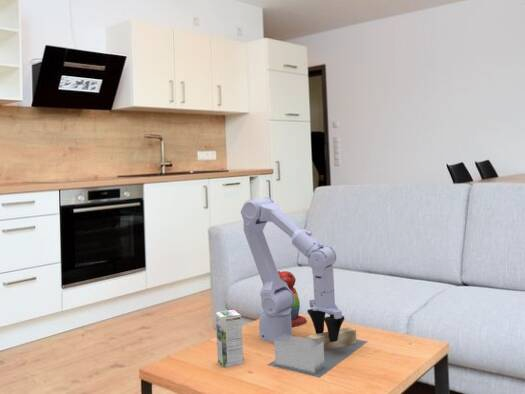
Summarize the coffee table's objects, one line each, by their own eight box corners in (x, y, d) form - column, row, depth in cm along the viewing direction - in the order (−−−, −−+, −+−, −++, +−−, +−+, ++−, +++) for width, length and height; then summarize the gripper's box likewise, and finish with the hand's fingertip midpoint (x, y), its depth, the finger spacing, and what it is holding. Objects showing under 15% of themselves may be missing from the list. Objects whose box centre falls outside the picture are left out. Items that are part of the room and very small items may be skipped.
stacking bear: (309, 322, 170) (306, 270, 169) (290, 330, 163) (287, 276, 162) (285, 316, 178) (282, 266, 177) (265, 324, 170) (262, 272, 169)
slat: (301, 356, 138) (300, 341, 138) (296, 352, 141) (295, 338, 141) (356, 343, 145) (355, 329, 145) (350, 340, 148) (349, 326, 148)
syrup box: (217, 364, 139) (214, 312, 138) (237, 359, 141) (234, 308, 140) (224, 371, 133) (220, 317, 132) (245, 366, 136) (241, 313, 135)
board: (267, 368, 134) (267, 364, 134) (319, 336, 156) (319, 332, 156) (319, 381, 124) (319, 377, 124) (367, 344, 147) (367, 341, 146)
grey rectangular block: (275, 365, 133) (274, 340, 133) (285, 358, 137) (284, 334, 137) (314, 374, 126) (313, 348, 126) (324, 367, 130) (323, 341, 130)
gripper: (299, 287, 147) (302, 332, 148) (325, 297, 134) (327, 347, 135) (320, 283, 150) (322, 328, 151) (347, 293, 137) (349, 342, 138)
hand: (326, 337), depth 143 cm, fingers open, 7 cm apart
